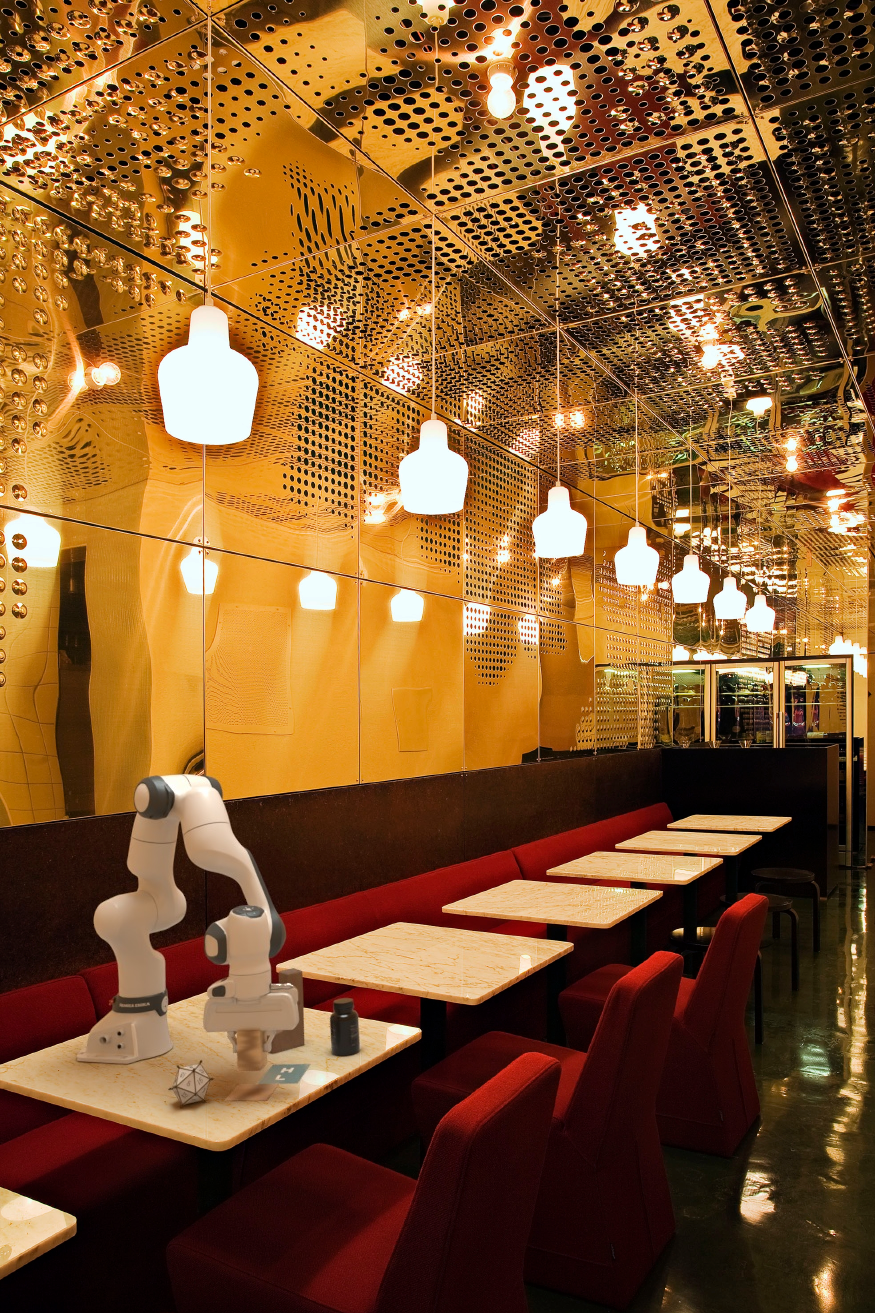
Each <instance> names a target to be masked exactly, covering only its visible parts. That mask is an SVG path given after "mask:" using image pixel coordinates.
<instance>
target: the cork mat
mask: <svg viewBox="0 0 875 1313" xmlns="http://www.w3.org/2000/svg"><path fill="white" fill-rule="evenodd" d="M237 1084H238V1085H236V1087H235V1088H234V1089H233V1090H232V1091H231V1092H230V1093H229V1095H228V1096H227V1097H226V1098H225V1099H224V1102H225V1103H227V1102H267V1101H268V1100H269V1099H270V1097H271V1096H272V1095H273V1093H275V1091H276V1089H277V1088H278V1086H280V1084H258V1083H237Z"/></svg>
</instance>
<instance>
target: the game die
mask: <svg viewBox="0 0 875 1313" xmlns="http://www.w3.org/2000/svg"><path fill="white" fill-rule="evenodd" d="M202 1063H203V1059H200V1060H199V1062H198V1063H195V1064H191V1065H185V1066H181V1067H180V1065H179V1064H176V1068H177V1069H178V1070H177V1072H176V1075H175V1079H174V1081H173V1084H172V1085H171V1086H172V1087H169V1088H167V1089H168V1091H172V1092H173V1093H174V1094H175V1096H176V1099H178V1101H179V1102H180V1104H181V1105H180V1106H179V1108H180V1109H183V1106H185V1105H189V1104H193V1103H197V1102H201V1101H202V1103H204V1104H205V1103H207V1100H206V1099H205V1098H206V1094H207V1092H208V1088H209V1086H210V1082H211V1081H213V1080H215V1077H210V1075H208V1072H207V1071H206V1070H205V1068H204V1066H202Z"/></svg>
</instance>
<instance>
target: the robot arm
mask: <svg viewBox="0 0 875 1313" xmlns="http://www.w3.org/2000/svg"><path fill="white" fill-rule="evenodd" d="M223 799H224V794H223V787H222V786H221V783H220V781H219V780H218V779H216V778H215V777H212V776H209V775H204V774H202V775H196V774H186V773H185V774H183V773H180V774H171V775H170V774H169V775H168V774H167V775H151V776H146V777H143V778H142V779H141V780H140V781H139V782H138V784H137V785H136V786H135V789H134V793H133V805H134V809H135V811H136V812H137V813H136V816H135V818H134V822H133V826H132V832H131V836H130V842H129V849H128V856H127V860H126V865H127V868H128V871H130V872H131V874H133V875H134V876H136V877H137V878H138V880H137V881H138V888H137V891H134V892H128V893H123V894H118V895H115V896H113V897H110V898H109V899H106V900H105V901H103V902H101V903H100V904H98V906H97V908H96V909H95V911H94V916H93V924H94V925H93V927H94V930H95V931H96V934H97V935H98V936H99V937H100V938H101V939H102V940H104V941H105V942H106V943H107V944H109V946H110V947H111V949H112V951H113V953H114V956H115V958H116V963H117V970H118V972H117V974H118V993H117V994H116V995H115V996H113V997H112V999H110V1000H108V1003H109V1004H108V1005H109V1006H111V1005H112V1007H111V1008H112V1009H111V1010H110V1011H109V1012H108V1013H107V1014H106V1015H105V1016H104V1017H103V1018H101V1019H100V1020H99V1021H98V1022H97V1023H96V1024H95V1025H94V1026H92V1028H91V1029H90V1030H89V1034H88V1036H87V1041H86V1046H84V1047H83V1048H82V1049H81V1050H80V1051H78V1053H77V1054H76V1061H77V1062H90V1063H105V1064H107V1063H108V1064H120V1065H121V1064H125V1065H126V1064H132V1063H135V1062H137V1061H141V1060H145V1059H150V1058H154V1057H157V1056H160V1055H163V1054H165V1053H168V1052H169V1051H170V1050H172V1049H173V1047H174V1044H173V1042H172V1038H171V1034H170V1030H169V1023H168V1014H167V1012H168V1008H169V1007H168V1006H169V998H168V989H167V988H166V960H165V956H164V955H163V954H162V953H161V952H159V951H158V950H155V949H154V948H153V946H152V944H151V941H150V934H153V933H158V932H160V931H161V932H162V931H165V930H167V929H170V928H171V927H173V926H175V925H176V924H178V923H180V922H181V921H182V920H183V919H184V917H185V915H186V912H187V901H186V897H185V896H184V895H185V894H184V893H183V892H182V891H181V890H180V889H179V888H178V887H177V885H176V883H175V878H174V861H175V860H174V859H175V853H176V846H177V839H178V832H179V824H181V832H182V838H183V842H184V848H185V851H186V854H187V857H188V858H189V859H190V861H191V862H192V863H193V864H194V865H195V866H197V867H199V868H201V869H203V870H205V871H209V872H213V873H218V874H221V875H224V876H226V877H230V878H231V879H233V880H235V881H236V882H237V883H238V884H239V886H240V888H241V891H242V893H243V896H244V899H246V900H245V901H246V902H247V905H245V904H244V905H239V906H236V907H234V908H233V909H231V910H230V912H229V914H228V915H227V917H225V918H224V917H223V918H222V919H220V920H217V921H215V922H212V923H211V924H210V925H209V926H208V927H207V929H206V931H205V934H204V936H203V949H204V951H203V952H204V955H205V956H206V958H207V959H208V960H209V961H210V962H212V964H215V965H220V966H221V965H222V966H224V965H229V971H228V977H224V978H222V979H219V980H217V981H215V982H214V983H212V984H211V985H210V986H209V987H208V988H207V990H206V994H207V995H206V996H207V997H208V999H207V1000H206V1002H204V1008H203V1018H202V1019H203V1022H202V1023H203V1026H202V1027H203V1029H204V1031H205V1032H206V1033H222V1032H223V1033H226V1035H227V1039H228V1040H229V1042H230V1043H231V1045H232V1053H233V1054H237V1031H242V1030H261V1031H267V1035H268V1036H269V1035H270V1037H269V1039H268V1041H265V1042H264V1043H263V1044H262V1047H263V1052H267V1053H269V1052H270V1051H271V1042H272V1040H273V1038H274V1036H275V1034H276V1030H292V1029H294V1028H295V1027H296V1026H297V1024H298V1023H299V1013H298V1006H297V1002H298V990H297V988H296V987H295V986H293V985H291V984H290V983H285V984H279V983H272V966H271V963H270V959H272V958H275V956H276V955H277V954H278V953H279V952H280V951H281V950H282V948H283V946H284V944H285V942H286V939H287V931H286V925H285V924H284V921H283V919H282V918H281V916H280V915H279V913H278V912H277V910H276V908H275V905H274V904H273V901H272V899H271V896H270V894H269V891H268V889H267V887H266V884H265V881H264V879H263V877H262V874H261V872H260V870H259V867H258V865H257V863H256V860H255V858H254V856H253V854H252V853H251V851H250V850H249V849H248V848H246V847H244V846H243V845H241V843H240V842H239V841H238V839H237V838H236V836H235V834H234V833H233V830H232V826H231V822H230V818H229V814H228V812H227V809H226V805H225V804H224V801H223ZM291 987H293V988H291Z"/></svg>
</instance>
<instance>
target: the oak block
mask: <svg viewBox="0 0 875 1313" xmlns="http://www.w3.org/2000/svg"><path fill="white" fill-rule="evenodd" d="M236 1038H237V1053H236V1057H237V1058H236V1060H237V1061H236V1062H237V1065H236V1066H237V1068H236V1070H237V1072H261V1071H262V1070H263V1069H264V1068H265V1066H266V1065H267V1064H268V1063H269V1062H268V1061H269V1060H268V1059H269V1058H268V1052H263V1047H262V1044H263V1043H264V1042H265V1041H267V1031H261V1030H242V1031H237V1033H236Z"/></svg>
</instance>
